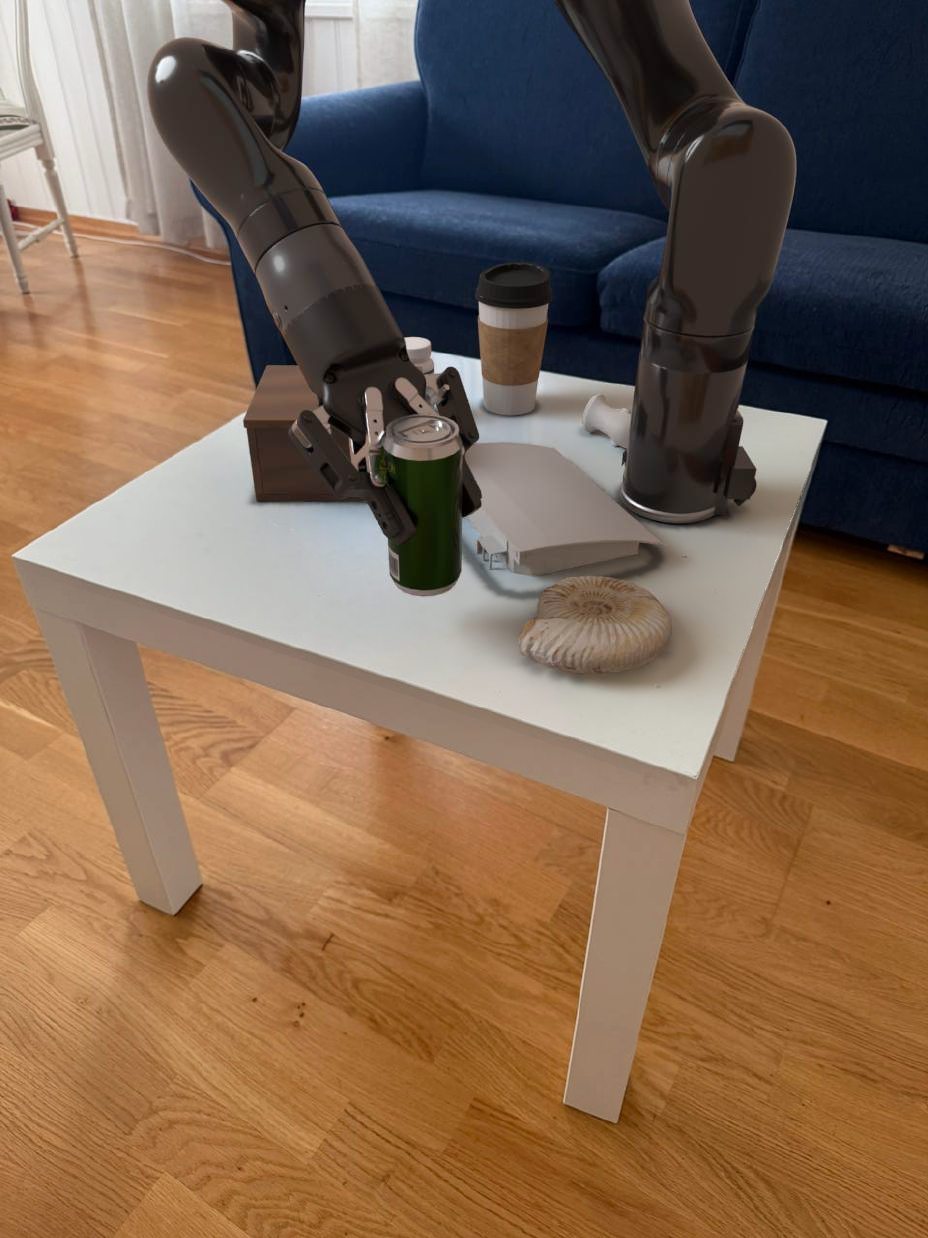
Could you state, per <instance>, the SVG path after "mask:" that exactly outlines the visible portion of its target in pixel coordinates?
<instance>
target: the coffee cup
mask: <svg viewBox="0 0 928 1238" xmlns="http://www.w3.org/2000/svg"><path fill="white" fill-rule="evenodd" d="M474 298H475V300H477V301H478V313H479V314H478V316H477V328H478V340H479V341H478V343H479V354H480V355H479V356H480V367H481V378H482V397H483V407H484V408H485V410H487V411H488V412H490V413H492V414H496V415H499V416H511V417H512V416H521V415H526V414H528V413H530V412H532V411H533V410H534V409H535V407H536V406H535V405H536V400H537V392H538V391H537V390H538V385H539V378H540V372H541V367H542V361H543V355H544V348H545V342H546V337H547V329H548V324H549V323H548V322H549V318H548V309H549V304H550V303H552V301H553V299H554V297H553V289H552V288H551V273H550V271H549V269H548V268H546V267H545V266H542V265H539V264H536V263H530V262H505V263H500V264H497V265H494V266H491V267H489V268H486V269H485V270H483V271H482V272H481V273H480V275H479V279H478V284H477V286H476V288H475V295H474Z"/></svg>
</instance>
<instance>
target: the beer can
mask: <svg viewBox="0 0 928 1238" xmlns="http://www.w3.org/2000/svg"><path fill="white" fill-rule="evenodd" d="M383 448H384V461H385V465H386V470H387V478H388V481H387V483H386V484H387V486H390V485H393V486H394V488H395V490H396V492H397V494H398V495H399V497H400V499H401V501H402V503H403V505H404V507H405V509H406V511H407V513H408V515H409V517H410V519H411V520H412V522H413V524H414V526H415V529H416V534H415V536H413V537H412V538H411V539H410V540H408V541H407V542H405V543H402V544H400V545H397V544H396V543H395V542H394V541H393V539H390V540H389V539H388V538H387V548H388V549H387V553H388V569H389V571H388V572H389V576H390V578H391V580H392V582H393V583H394V585H395V586H396V588H397V589H398V590H400V591H402V593H405V594H408V595H411V596H414V597H423V598H424V597H435V596H439V595H443V594H445V593H447V592H449V591H451V590H452V589H453V588H454V587H455V586H456V585H457V583H458V581H459V579H460V577H461V574H462V572H463V571H462V569H463V568H462V567H463V566H462V565H463V563H462V562H463V558H462V557H463V556H462V555H463V517H462V440H461V437H460V435H459V427H458V425H457V424H456V423H455V422H454V421H453V420H451V419H448V418H446V417H443V416H438V415H431V414H414V415H408V416H403V417H400V418H397V419H395V420H393V421H392V422H390V423H389V424H388V425H387V427H386V437H385V440H384V444H383Z"/></svg>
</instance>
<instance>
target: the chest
mask: <svg viewBox="0 0 928 1238" xmlns="http://www.w3.org/2000/svg"><path fill="white" fill-rule="evenodd" d="M245 429H246V437H247V442H248V450H249V458H250V465H251V473H252V480H253V481H252V482H253V488H254V494H255V501H256V502H258V503H261V502H262V503H265V502H268V503H269V502H270V503H271V502H277V503H280V502H281V503H284V502H286V503H287V502H289V503H291V502H293V503H295V502H297V503H299V502H301V503H302V502H306V503H309V502H310V503H312V502H315V503H317V502H319V503H321V502H322V503H323V502H325V503H327V502H328V503H329V502H330V503H331V502H332V503H337V502H338V503H339V502H340V503H341V502H342V503H343V502H344V503H346V502H347V503H349V502H350V503H361V502H362V503H367V502H366V501H365V500H364V499H363V498H361V497H346V498H345V499H338V498H336V497H335V496H334V495H333V494H332V492H331V491H330V490H329V488H328V487H327V486H326V484H325V483H324V482H323V480H322V479H321V478H320V476H319V475H318V474H317V472H316V471H315V470H314V469H313V467H312V466H311V465H310V463H309V462H308V461H307V459H306V458H305V457H304V455H303V454H302V453H301V451H300V450H299V449H298V448H297V446H296V445H295V444H294V442H293V441H292V440H291V438H290V437H289V434H288V432H289V429H290V428H245ZM331 432H332V433H331V436H332V437H333V439H334V440H335V441H336V443H337V444H338V445H339V447H340V448H341V449H342V451H343V452H344V453H345V455H346V456H347V457H348V459H349V460H350V461H351V455H350V447H349V439H348V437H347V436H346V435H344V434H343V433H341V432H339V431H338V430H336V429H335V428H331Z"/></svg>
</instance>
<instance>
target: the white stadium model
mask: <svg viewBox="0 0 928 1238" xmlns="http://www.w3.org/2000/svg"><path fill="white" fill-rule="evenodd" d="M465 460H466V463H467V465H468V466H469V468H470V470H471V472H472V474H473V476H474V479H475V480H476V482H477V484H478V486H479V488H480V490H481V493H482V498H481V503H482V506H481V508H479V509H478V510H477V511H475V512H474V513H473V514H471V515H469V516H466V517H465V519H466V520H467V522H469V524H470V525H471V526H472V527H473V528H474V529H475V530H476V532H477V533H478V535H480V537H476V554H479V553H482V562H485V560H486V558H485V557H486V556H485V555H486V552H487V553H488V555H489V567H488V569H489V570H492V568H493V556H494V555H496V556H497V557H498V558H499V560H500V562H502V563H503V564H504V566H505V567H508V569H509V570H510V571H511V572H512V573H513V574H518V575H523V576H528V577H537V576H541V575H546V574H550V573H554V572H559V571H564V570H565V571H566V570H568V569H573V568H577V567H582V566H587V565H590V564H597V563H601V562H605V561H609V560H613V559H614V560H615V559H617V558H618V559H619V558H623V557H628V556H632V555H637V554H638V553H639V547H640V543H644V544H651V545H657V546H663V545H664V543H663V542H662V541H661V540H660V539H659V538H658V537H657V536H655V535H654V534H653V533H652V532H650V530H648V529H647V528H646V527H645V526H644V525H643V524H642V523H641V522H639V521H638V520H637V519H636V518H635V517H634V516H632V514H630V513H629V512H628V511H627V510H626V509H624V507H622V506H621V505H620V504H619V503H617V501H616V500H614V499H613V498H612V497H610V495H608V493H606V492H605V491H604V490H603V489H602V488H600V487H599V486H598V485H597V484H596V483H595V482H593V480H591V479H590V477H588V476H587V475H585V474H584V472H582V471H581V470H580V469H579V468H577V466H576V465H574V464H573V463H572V462H571V461H569V460H568V459H567V458H566V457H565V456H564V455H563V454H562V453H560V452H559V451H558V450H557V449H556V448H555V447H551V446H546V445H539V444H533V443H526V442H504V441H502V442H501V441H500V442H478V443H477V442H476V443H474V444H473V445H472V446H471V447H470V448H469V449H468V450H467V451H466V453H465Z"/></svg>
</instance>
